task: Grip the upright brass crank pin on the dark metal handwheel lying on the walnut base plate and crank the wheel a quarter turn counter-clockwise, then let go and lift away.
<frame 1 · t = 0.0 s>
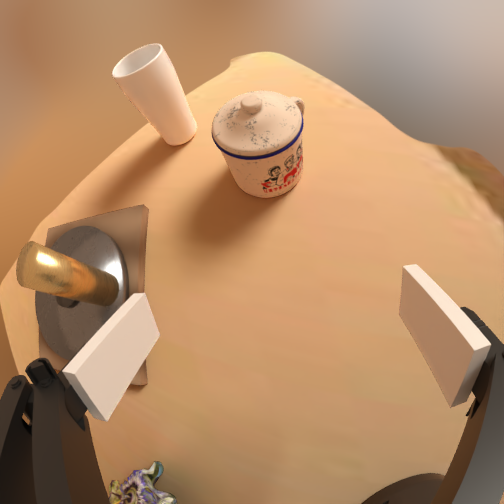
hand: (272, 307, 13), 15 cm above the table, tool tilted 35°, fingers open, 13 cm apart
teacup with lid: (275, 161, 33), on the table
passion flower: (171, 493, 23), on the table
handwheel: (41, 283, 25), point 8 cm above the table, hinge at 0.0°
drinking glass: (182, 134, 38), on the table
base plate: (86, 295, 33), on the table
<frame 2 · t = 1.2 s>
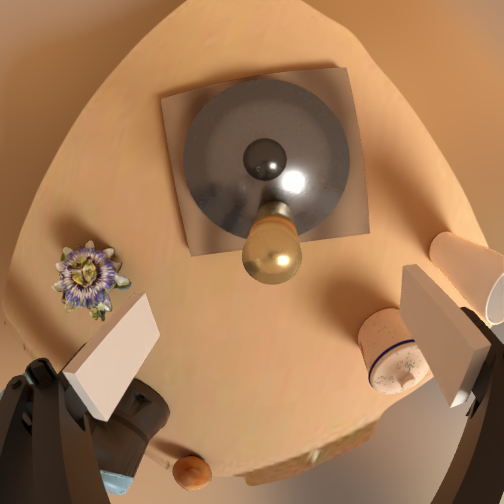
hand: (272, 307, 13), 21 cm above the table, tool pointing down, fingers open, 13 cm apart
teacup with lid: (389, 334, 37), on the table
passion flower: (103, 271, 38), on the table
handwheel: (262, 159, 23), point 8 cm above the table, hinge at 0.0°
drinking glass: (441, 248, 32), on the table
base plate: (266, 159, 31), on the table
onion: (196, 458, 55), on the table
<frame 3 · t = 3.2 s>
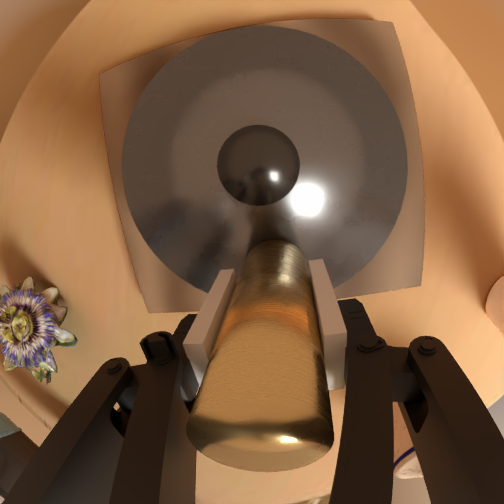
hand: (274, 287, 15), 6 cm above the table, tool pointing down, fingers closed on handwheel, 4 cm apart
teacup with lid: (418, 399, 25), on the table
passion flower: (52, 312, 26), on the table
handwheel: (248, 168, 10), point 9 cm above the table, hinge at 0.0°, touching gripper
drinking glass: (499, 294, 19), on the table
base plate: (263, 163, 18), on the table
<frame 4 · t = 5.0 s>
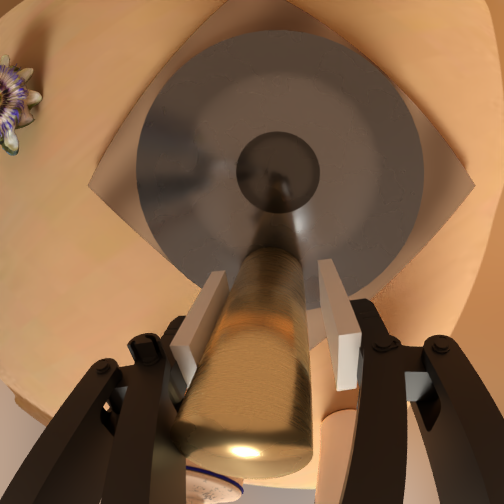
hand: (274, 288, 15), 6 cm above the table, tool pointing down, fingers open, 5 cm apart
teacup with lid: (218, 433, 29), on the table
passion flower: (20, 111, 19), on the table
handwheel: (273, 177, 10), point 8 cm above the table, hinge at 37.8°, touching gripper
drinking glass: (343, 419, 26), on the table
base plate: (280, 169, 18), on the table
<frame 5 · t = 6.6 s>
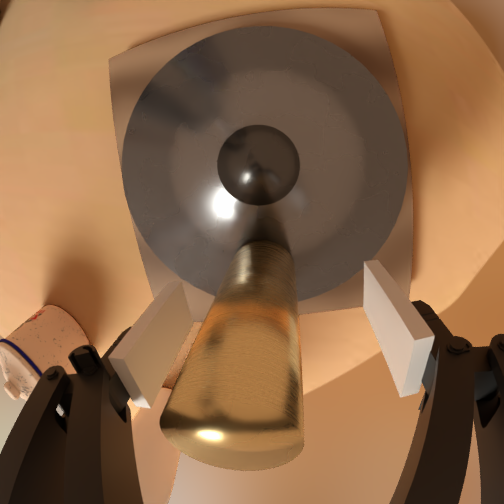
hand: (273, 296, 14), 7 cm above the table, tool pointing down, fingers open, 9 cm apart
teacup with lid: (64, 340, 27), on the table
handwheel: (248, 168, 10), point 9 cm above the table, hinge at 82.9°
drinking glass: (171, 399, 28), on the table
base plate: (263, 163, 18), on the table
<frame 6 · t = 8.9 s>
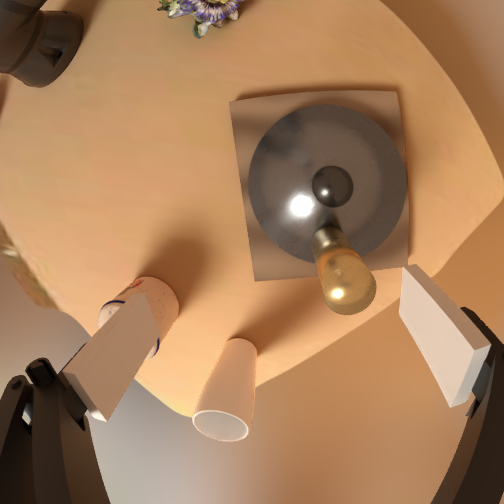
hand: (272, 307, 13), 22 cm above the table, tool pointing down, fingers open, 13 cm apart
teacup with lid: (150, 307, 40), on the table
passion flower: (210, 7, 25), on the table
handwheel: (340, 190, 23), point 8 cm above the table, hinge at 82.9°
drinking glass: (240, 349, 41), on the table
base plate: (327, 183, 31), on the table
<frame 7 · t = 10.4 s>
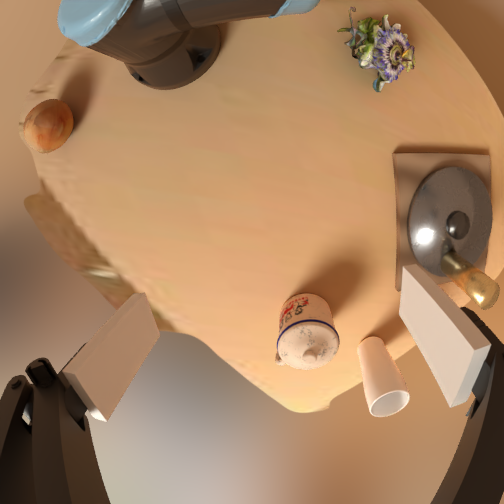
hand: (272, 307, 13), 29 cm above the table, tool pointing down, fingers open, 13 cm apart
teacup with lid: (299, 319, 46), on the table
passion flower: (367, 55, 31), on the table
handwheel: (474, 233, 29), point 9 cm above the table, hinge at 82.9°
drinking glass: (369, 345, 47), on the table
base plate: (446, 219, 37), on the table
onion: (66, 126, 39), on the table
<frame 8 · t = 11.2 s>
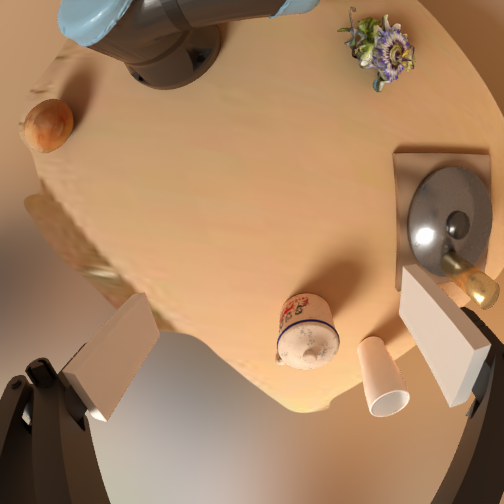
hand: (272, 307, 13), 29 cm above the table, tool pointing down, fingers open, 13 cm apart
teacup with lid: (299, 319, 46), on the table
passion flower: (367, 55, 31), on the table
handwheel: (474, 233, 29), point 9 cm above the table, hinge at 82.9°
drinking glass: (369, 345, 47), on the table
base plate: (446, 219, 37), on the table
onion: (66, 126, 39), on the table
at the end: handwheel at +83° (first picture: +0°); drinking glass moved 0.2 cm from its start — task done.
